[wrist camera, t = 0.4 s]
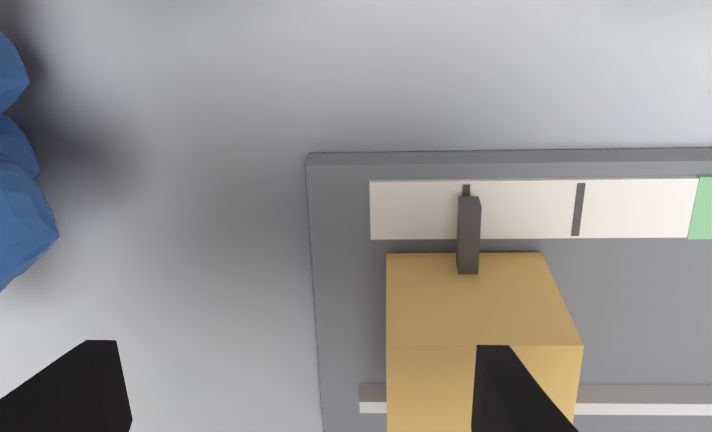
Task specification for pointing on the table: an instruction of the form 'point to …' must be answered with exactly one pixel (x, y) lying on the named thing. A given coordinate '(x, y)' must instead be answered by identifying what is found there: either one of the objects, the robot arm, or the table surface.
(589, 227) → the gauge track
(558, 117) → the table surface
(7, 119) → the grapes
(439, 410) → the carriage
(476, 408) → the robot arm
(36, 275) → the table surface
